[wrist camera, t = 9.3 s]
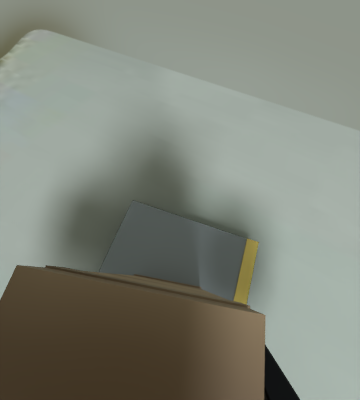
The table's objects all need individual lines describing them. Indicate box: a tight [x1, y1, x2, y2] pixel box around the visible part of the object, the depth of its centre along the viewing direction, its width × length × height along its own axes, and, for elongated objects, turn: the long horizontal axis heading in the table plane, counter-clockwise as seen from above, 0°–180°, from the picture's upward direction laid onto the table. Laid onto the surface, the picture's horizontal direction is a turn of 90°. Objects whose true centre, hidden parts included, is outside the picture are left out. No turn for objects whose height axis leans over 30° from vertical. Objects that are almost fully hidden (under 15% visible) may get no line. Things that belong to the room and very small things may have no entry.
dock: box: [99, 200, 259, 304], centre depth 16 cm, size 16×12×2 cm
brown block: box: [0, 265, 265, 400], centre depth 9 cm, size 5×5×13 cm
